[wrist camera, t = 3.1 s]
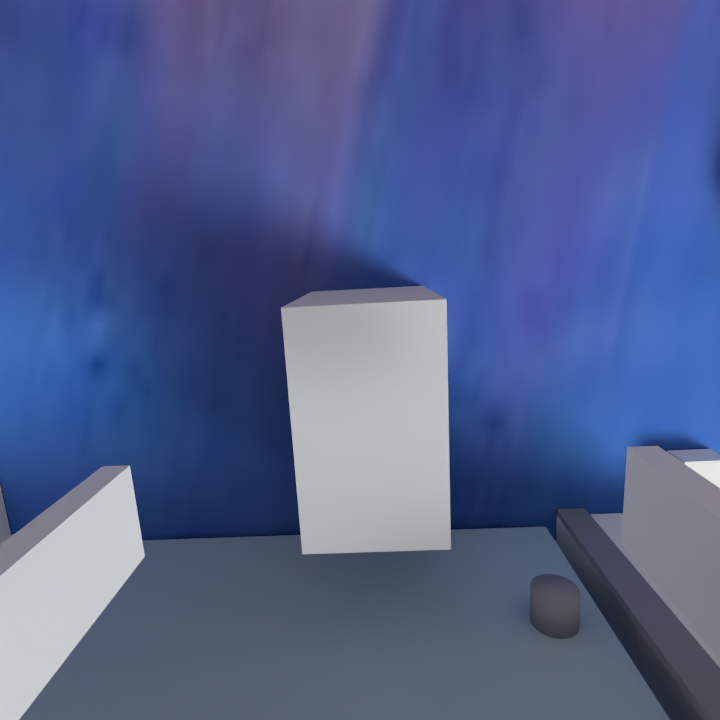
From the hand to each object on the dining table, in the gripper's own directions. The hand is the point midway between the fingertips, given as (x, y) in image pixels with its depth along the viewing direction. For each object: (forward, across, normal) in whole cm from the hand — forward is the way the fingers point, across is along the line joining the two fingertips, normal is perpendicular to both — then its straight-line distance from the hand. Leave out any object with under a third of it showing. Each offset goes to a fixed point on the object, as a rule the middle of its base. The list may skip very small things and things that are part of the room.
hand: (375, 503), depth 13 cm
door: (+14, -4, -10) cm, 18 cm away
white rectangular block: (+15, 0, 0) cm, 15 cm away
